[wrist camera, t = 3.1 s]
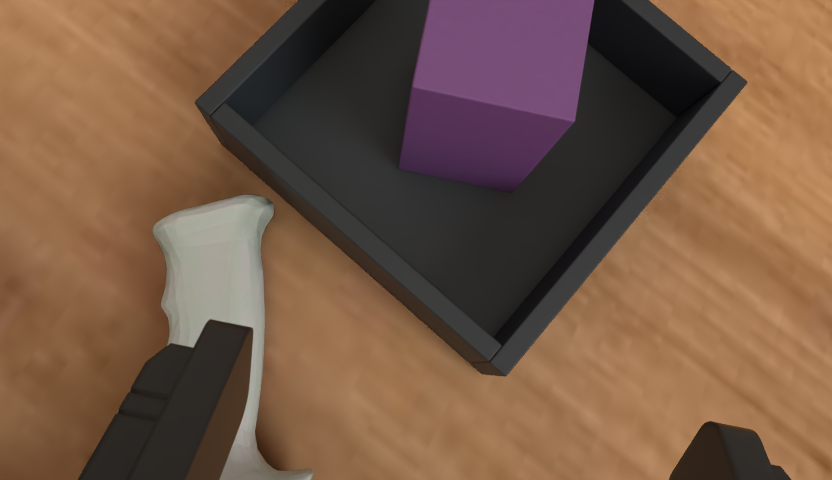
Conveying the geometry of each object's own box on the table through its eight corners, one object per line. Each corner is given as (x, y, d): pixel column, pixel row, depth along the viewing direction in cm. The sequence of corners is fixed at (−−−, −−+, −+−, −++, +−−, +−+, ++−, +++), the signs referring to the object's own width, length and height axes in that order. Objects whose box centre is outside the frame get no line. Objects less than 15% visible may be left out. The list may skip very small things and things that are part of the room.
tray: (220, 143, 27) (193, 102, 23) (444, -82, 29) (458, -158, 25) (482, 375, 26) (506, 377, 22) (691, 123, 28) (748, 81, 24)
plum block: (512, 193, 26) (575, 121, 19) (397, 169, 26) (411, 86, 18) (531, 84, 27) (599, -28, 19) (419, 61, 27) (442, -63, 19)
